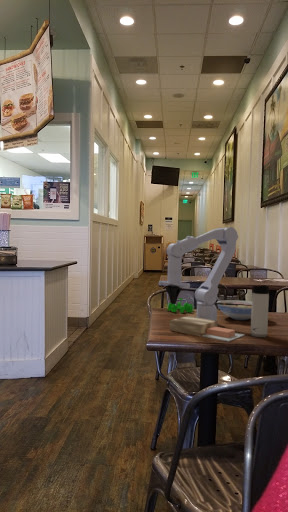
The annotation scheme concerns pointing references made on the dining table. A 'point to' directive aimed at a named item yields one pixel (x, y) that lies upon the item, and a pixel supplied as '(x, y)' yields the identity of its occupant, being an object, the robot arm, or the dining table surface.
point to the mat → (224, 337)
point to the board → (192, 325)
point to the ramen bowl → (236, 309)
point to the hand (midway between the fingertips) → (173, 303)
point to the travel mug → (259, 311)
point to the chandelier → (180, 307)
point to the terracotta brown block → (220, 332)
